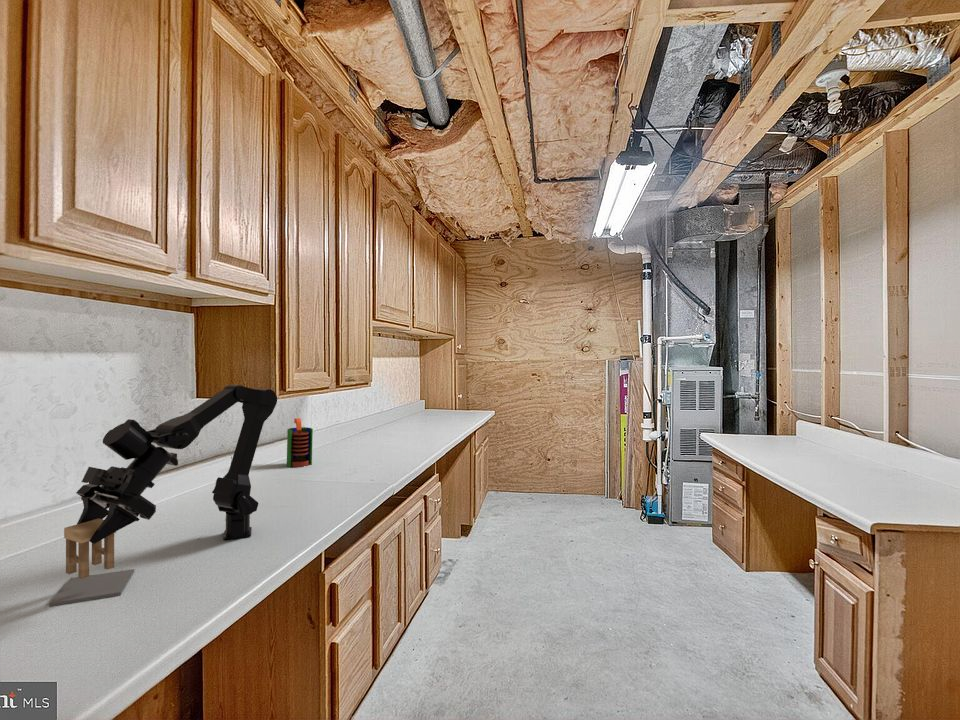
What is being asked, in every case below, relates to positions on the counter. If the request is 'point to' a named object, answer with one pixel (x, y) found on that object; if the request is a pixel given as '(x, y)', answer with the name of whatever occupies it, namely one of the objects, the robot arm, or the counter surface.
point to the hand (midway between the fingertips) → (82, 539)
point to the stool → (87, 548)
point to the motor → (299, 445)
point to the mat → (93, 587)
